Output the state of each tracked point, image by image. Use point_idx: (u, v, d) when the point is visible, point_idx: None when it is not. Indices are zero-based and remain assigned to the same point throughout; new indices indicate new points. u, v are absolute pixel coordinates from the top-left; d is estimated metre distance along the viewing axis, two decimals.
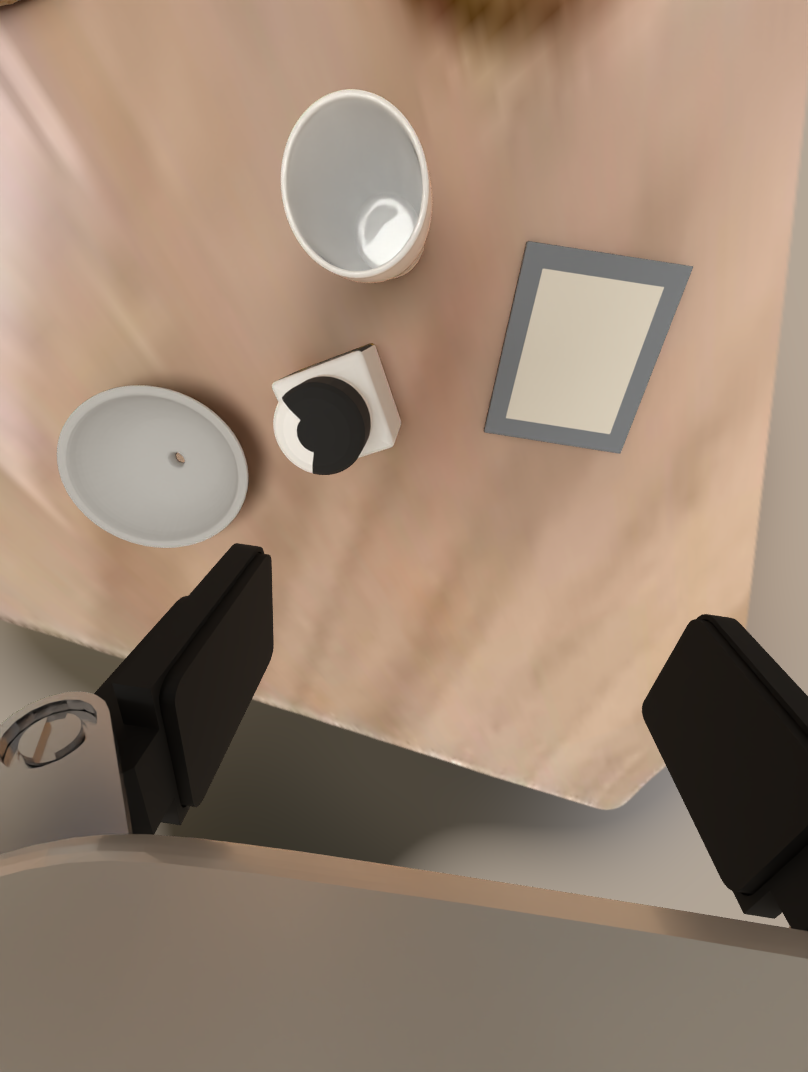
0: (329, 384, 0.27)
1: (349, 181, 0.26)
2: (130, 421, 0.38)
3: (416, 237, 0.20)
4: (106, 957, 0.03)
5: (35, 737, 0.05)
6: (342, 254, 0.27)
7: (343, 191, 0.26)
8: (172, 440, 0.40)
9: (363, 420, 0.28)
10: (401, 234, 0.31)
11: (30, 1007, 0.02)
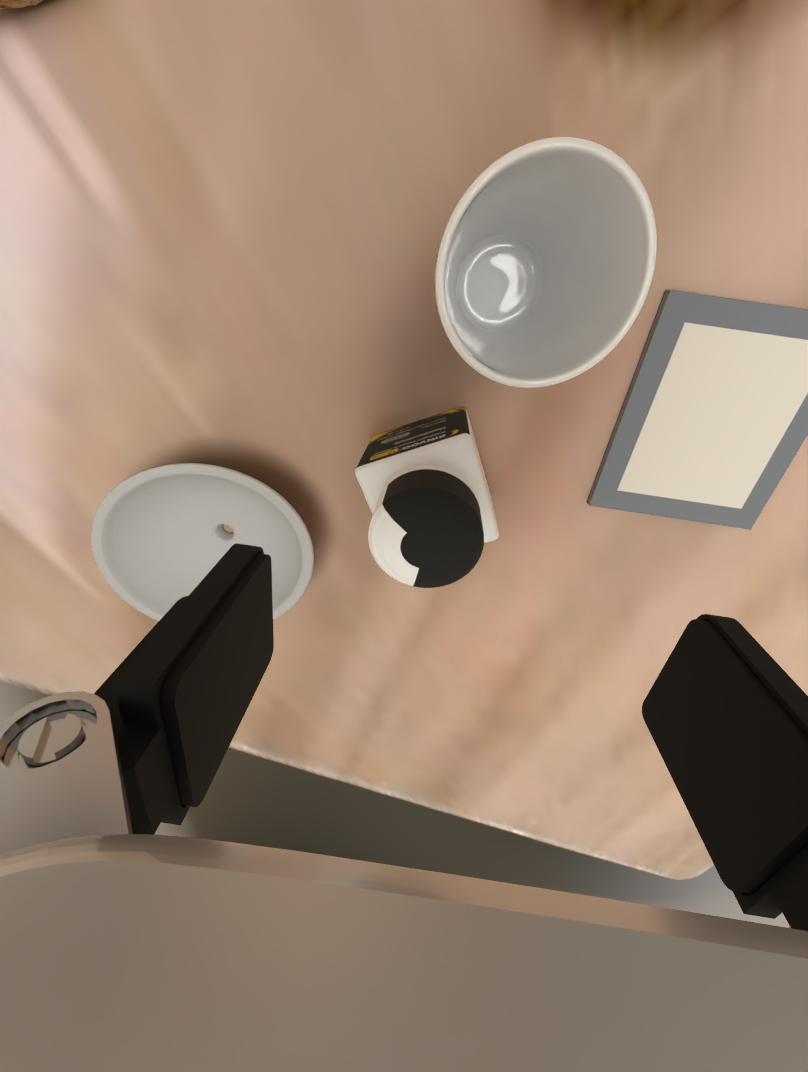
0: (444, 489, 0.21)
1: (474, 232, 0.20)
2: (174, 495, 0.33)
3: (622, 337, 0.14)
4: (106, 957, 0.03)
5: (35, 737, 0.05)
6: (460, 323, 0.21)
7: (465, 244, 0.20)
8: (220, 512, 0.34)
9: (482, 529, 0.22)
10: (515, 285, 0.25)
11: (30, 1007, 0.02)
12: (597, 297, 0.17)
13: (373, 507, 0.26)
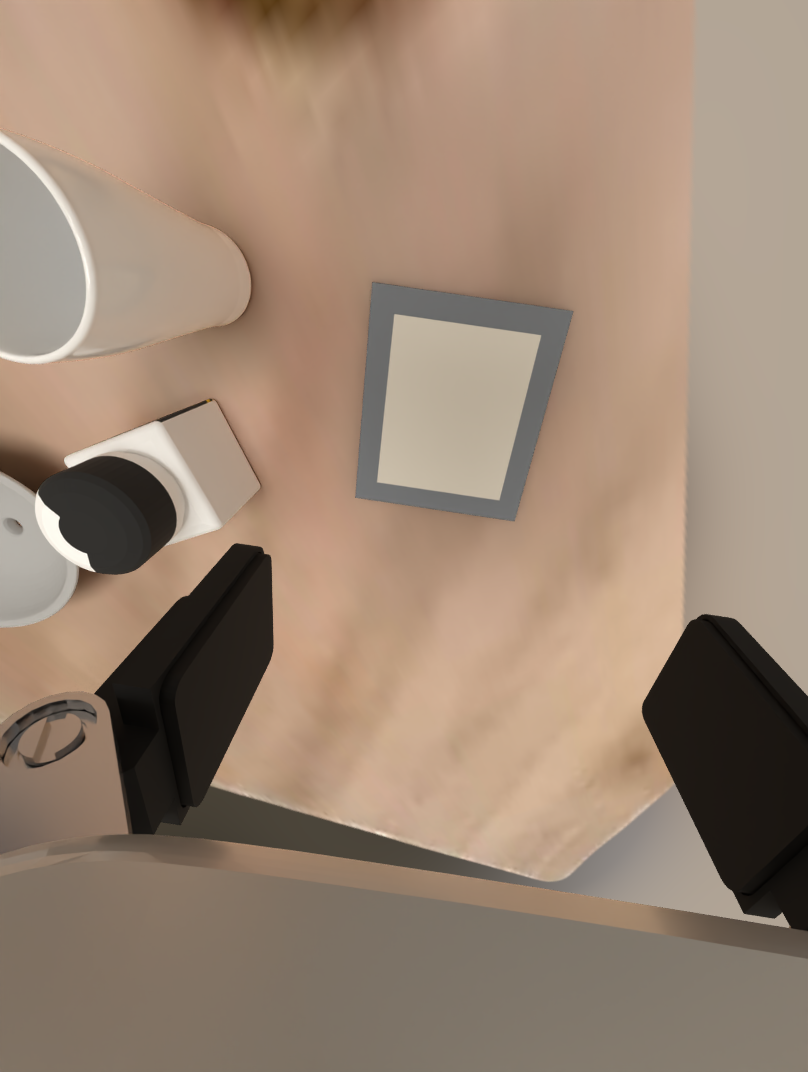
0: (92, 473, 0.21)
1: None
2: None
3: (93, 313, 0.14)
4: (106, 957, 0.03)
5: (35, 737, 0.05)
6: None
7: None
8: (1, 505, 0.34)
9: (144, 514, 0.22)
10: None
11: (31, 1007, 0.02)
12: None
13: None
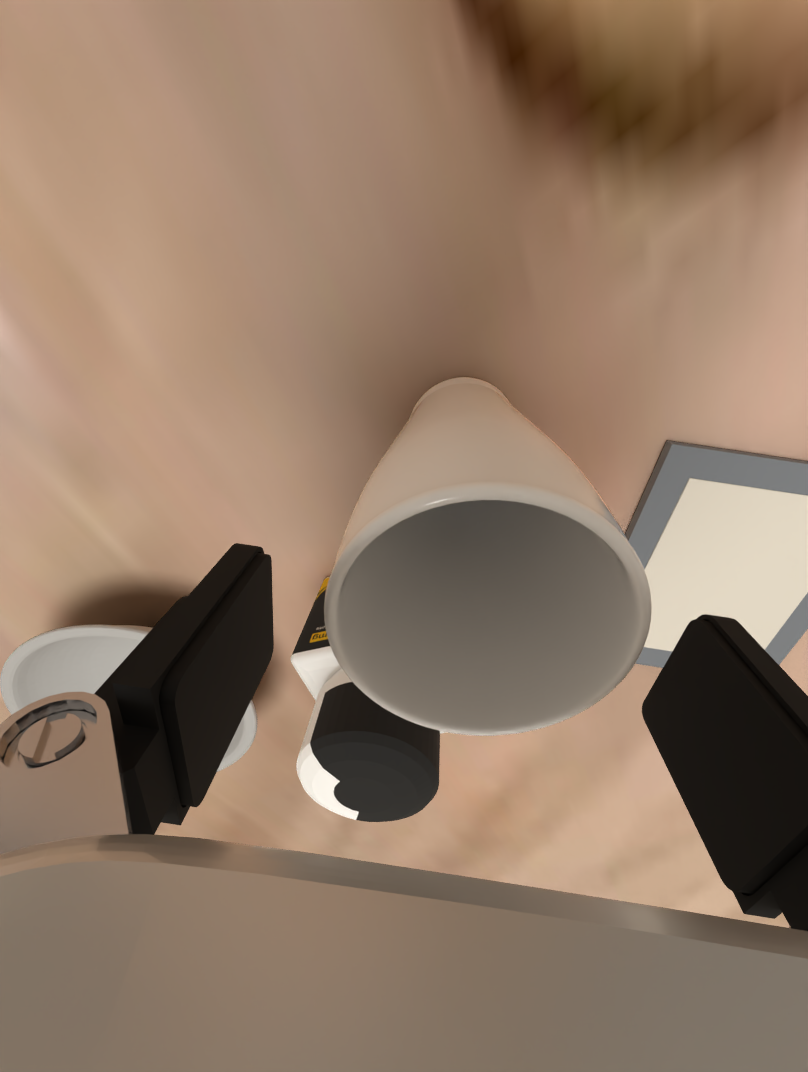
0: (386, 732, 0.17)
1: None
2: (99, 638, 0.28)
3: None
4: (106, 957, 0.03)
5: (35, 737, 0.05)
6: (405, 524, 0.17)
7: None
8: None
9: (437, 770, 0.18)
10: None
11: (30, 1007, 0.02)
12: (573, 556, 0.13)
13: (315, 695, 0.22)
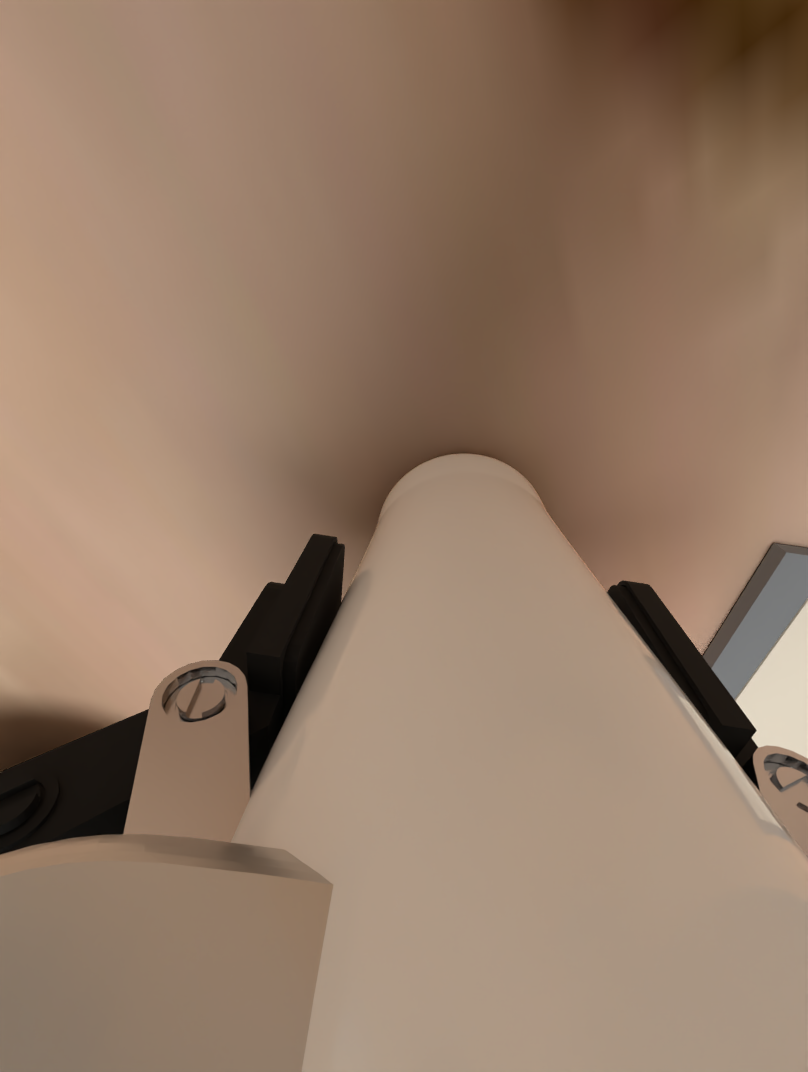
0: None
1: None
2: None
3: None
4: (106, 957, 0.03)
5: (188, 697, 0.06)
6: None
7: None
8: None
9: None
10: None
11: (30, 1007, 0.02)
12: None
13: None
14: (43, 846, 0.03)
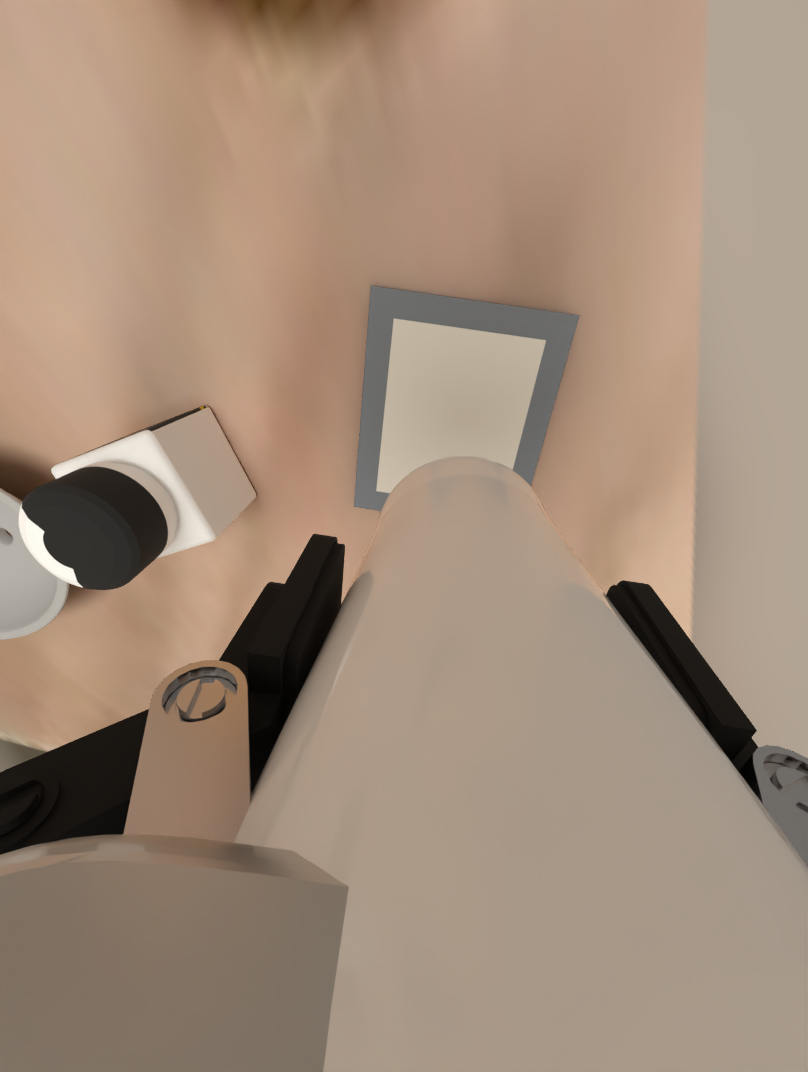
0: (78, 486, 0.20)
1: None
2: None
3: None
4: (107, 956, 0.03)
5: (189, 697, 0.06)
6: None
7: None
8: None
9: (133, 528, 0.21)
10: None
11: (31, 1006, 0.02)
12: None
13: None
14: (44, 845, 0.03)
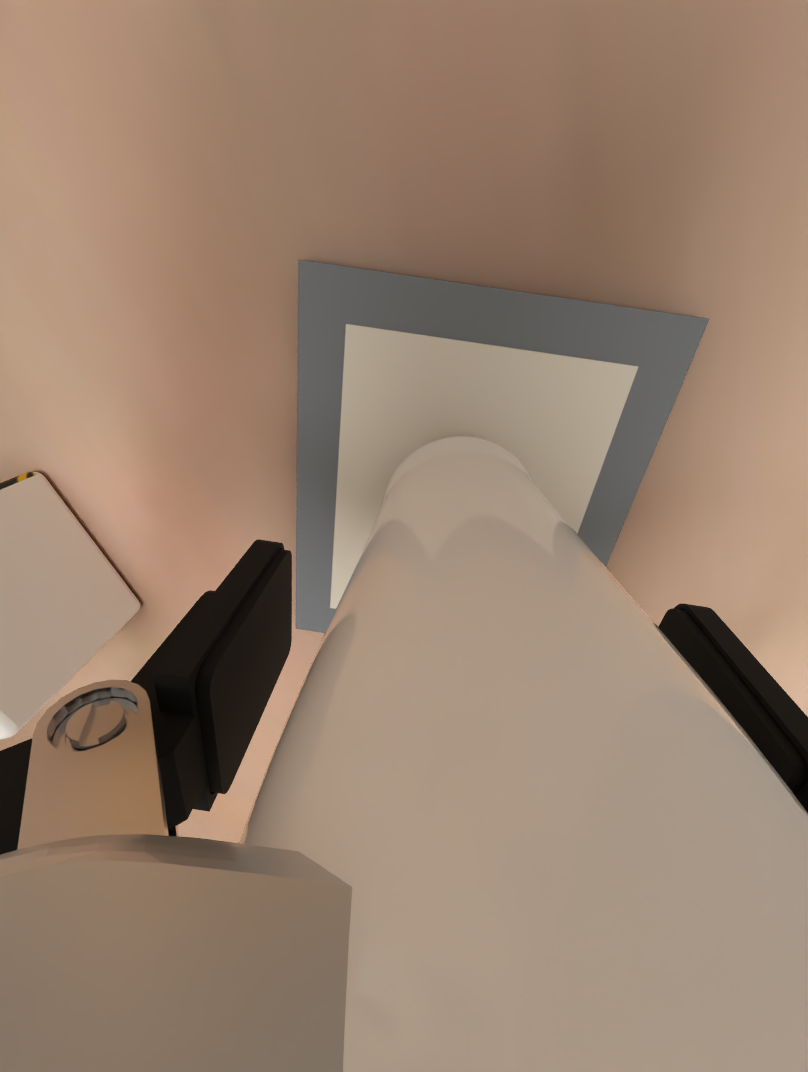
0: None
1: None
2: None
3: None
4: (106, 957, 0.03)
5: (81, 722, 0.05)
6: None
7: None
8: None
9: None
10: None
11: (30, 1007, 0.02)
12: None
13: None
14: (43, 846, 0.03)
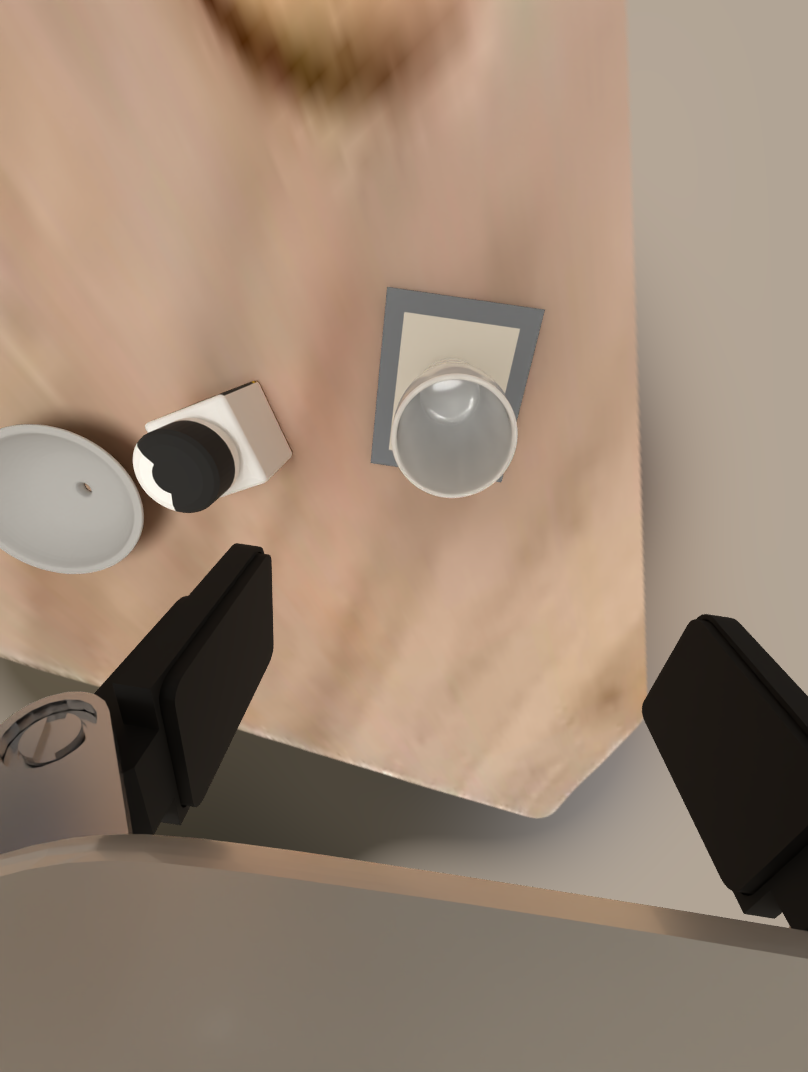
0: (179, 431, 0.28)
1: None
2: (33, 455, 0.40)
3: (503, 472, 0.23)
4: (106, 957, 0.03)
5: (35, 737, 0.05)
6: (417, 433, 0.30)
7: None
8: (76, 471, 0.41)
9: (216, 463, 0.29)
10: (462, 395, 0.34)
11: (30, 1007, 0.02)
12: (500, 432, 0.26)
13: None
14: (43, 846, 0.03)
